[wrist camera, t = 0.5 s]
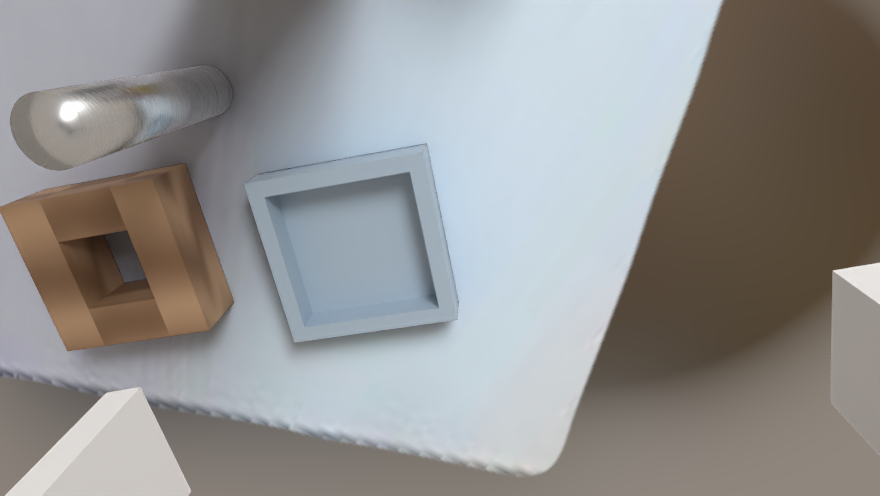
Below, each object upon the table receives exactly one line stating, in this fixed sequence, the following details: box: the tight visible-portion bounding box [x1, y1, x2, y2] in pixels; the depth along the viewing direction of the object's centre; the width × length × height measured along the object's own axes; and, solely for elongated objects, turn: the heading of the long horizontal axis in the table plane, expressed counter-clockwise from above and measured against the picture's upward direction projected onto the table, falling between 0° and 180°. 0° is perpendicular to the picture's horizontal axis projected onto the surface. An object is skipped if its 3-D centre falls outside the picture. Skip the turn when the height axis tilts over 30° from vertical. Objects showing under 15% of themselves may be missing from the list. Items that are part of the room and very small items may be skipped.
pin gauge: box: [10, 65, 233, 170], centre depth 29 cm, size 3×3×14 cm
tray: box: [244, 144, 459, 343], centre depth 37 cm, size 11×11×2 cm
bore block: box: [0, 163, 234, 351], centre depth 37 cm, size 10×10×4 cm
